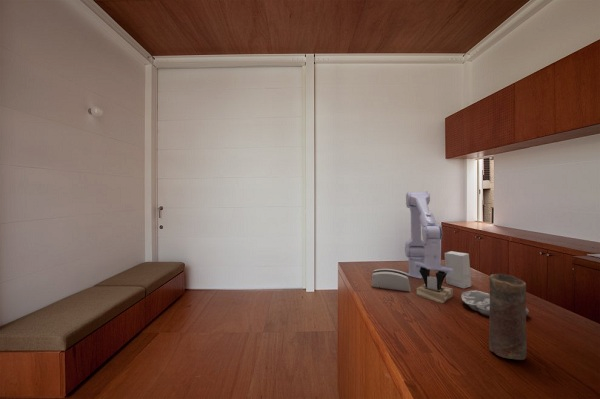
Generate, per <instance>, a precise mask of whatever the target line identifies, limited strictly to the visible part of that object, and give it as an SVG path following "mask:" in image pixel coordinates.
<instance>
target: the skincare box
mask: <svg viewBox="0 0 600 399" xmlns="http://www.w3.org/2000/svg"><path fill="white" fill-rule="evenodd" d="M470 262H471V261H470V254H469V253H466V252H460V251H459V252H458V251H453V250H451V251H447V252H444V263H445V264H444V267H448V268H452V269H453V274H452V275H450V274H448V273H447V275H446V276H445V280H446V284H447V285H451V286H454V287H457V288H461V289H467V288H470V287H472V276H471V265H470Z"/></svg>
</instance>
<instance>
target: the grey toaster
mask: <svg viewBox="0 0 600 399" xmlns="http://www.w3.org/2000/svg"><path fill="white" fill-rule="evenodd" d="M407 273H408V272H405V271H401V270H397V269H395V268H394V269H393V268H392V269H391V268H378V269H374V270H373V272H372V274H371V275H372V279H371V287H372V286H373V288H379V287H380V288H381V289H389V290H396V291H405V292H411V291H412V289H411V286H412V285H411V282H410V278H409V277H410V276H408V274H407Z"/></svg>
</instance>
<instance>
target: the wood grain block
mask: <svg viewBox="0 0 600 399" xmlns="http://www.w3.org/2000/svg"><path fill="white" fill-rule="evenodd" d="M427 289H428V290H432V291H436V292H441V289H440V290H437V278H436V276H431V275H429V276H427Z"/></svg>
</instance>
